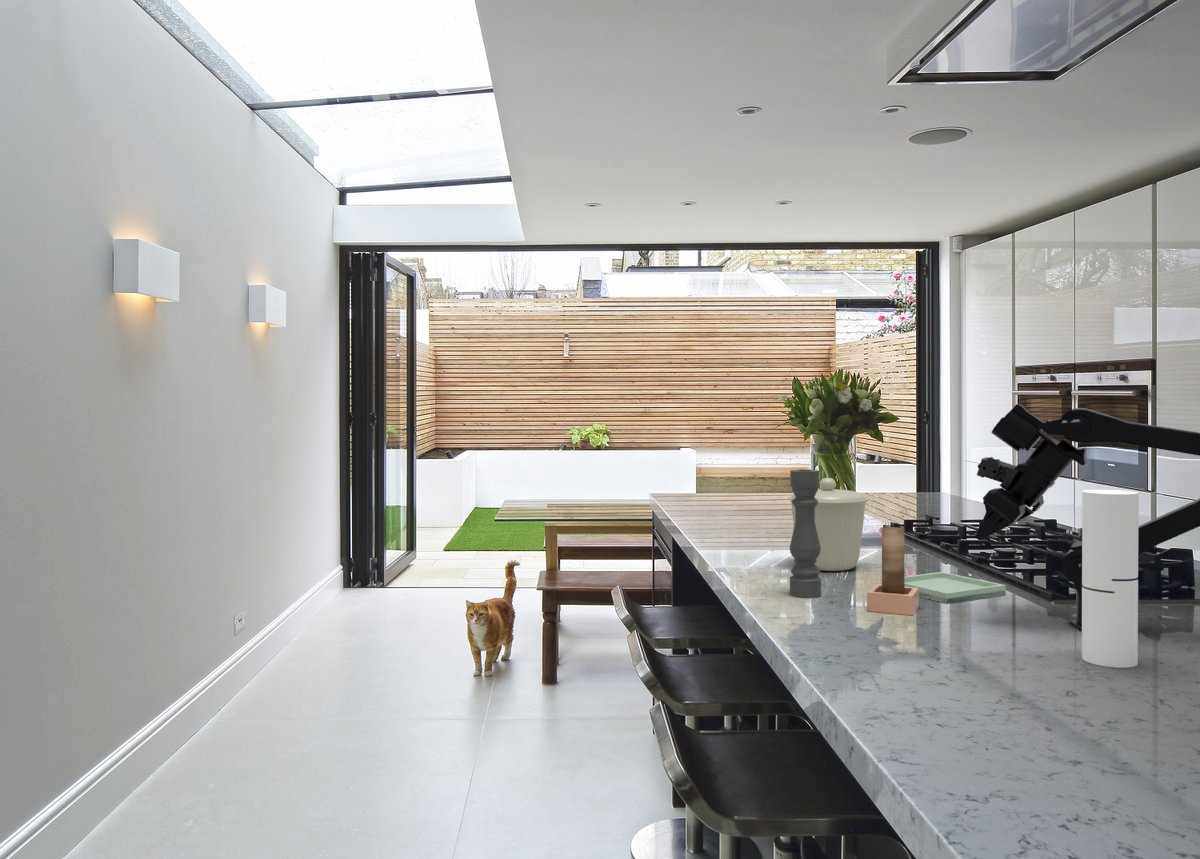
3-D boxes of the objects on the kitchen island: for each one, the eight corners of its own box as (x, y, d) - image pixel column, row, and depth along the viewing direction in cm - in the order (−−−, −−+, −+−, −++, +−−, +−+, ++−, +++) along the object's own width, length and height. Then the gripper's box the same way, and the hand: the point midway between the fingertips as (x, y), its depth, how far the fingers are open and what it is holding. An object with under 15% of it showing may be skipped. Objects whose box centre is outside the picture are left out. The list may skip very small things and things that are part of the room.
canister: (773, 565, 210) (772, 476, 209) (833, 558, 217) (832, 473, 217) (822, 578, 193) (821, 482, 193) (885, 570, 201) (885, 478, 201)
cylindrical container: (1145, 668, 126) (1146, 494, 125) (1091, 666, 127) (1092, 494, 126) (1126, 654, 133) (1127, 489, 132) (1075, 652, 134) (1075, 489, 133)
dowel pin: (906, 611, 162) (906, 530, 161) (884, 611, 162) (883, 530, 162) (902, 606, 166) (902, 527, 165) (880, 606, 166) (880, 527, 166)
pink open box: (918, 606, 166) (918, 587, 166) (912, 615, 159) (912, 596, 158) (875, 602, 169) (875, 584, 169) (867, 611, 162) (866, 592, 162)
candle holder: (818, 591, 180) (818, 469, 179) (823, 598, 173) (822, 471, 173) (788, 591, 180) (787, 469, 180) (791, 597, 174) (790, 471, 173)
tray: (1005, 595, 174) (1005, 585, 174) (947, 603, 167) (947, 593, 167) (941, 581, 189) (941, 571, 189) (885, 588, 182) (885, 579, 182)
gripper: (1015, 437, 164) (962, 500, 170) (988, 442, 149) (931, 511, 156) (1068, 475, 159) (1012, 539, 165) (1045, 485, 144) (984, 554, 150)
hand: (984, 535), depth 159 cm, fingers open, 9 cm apart
